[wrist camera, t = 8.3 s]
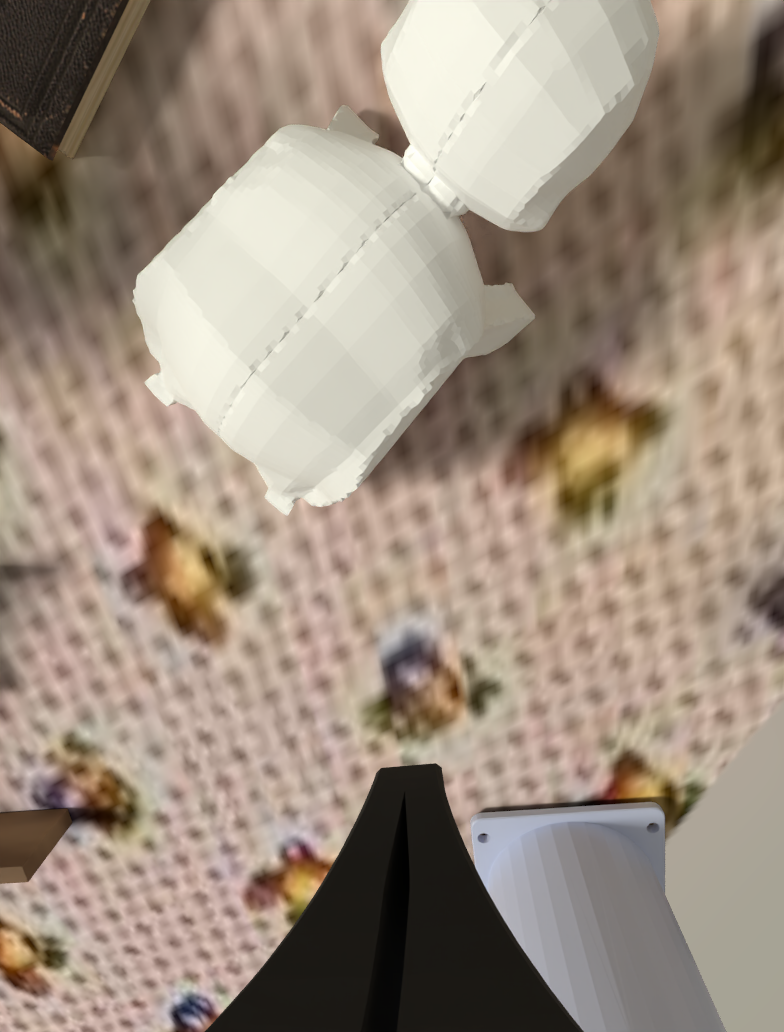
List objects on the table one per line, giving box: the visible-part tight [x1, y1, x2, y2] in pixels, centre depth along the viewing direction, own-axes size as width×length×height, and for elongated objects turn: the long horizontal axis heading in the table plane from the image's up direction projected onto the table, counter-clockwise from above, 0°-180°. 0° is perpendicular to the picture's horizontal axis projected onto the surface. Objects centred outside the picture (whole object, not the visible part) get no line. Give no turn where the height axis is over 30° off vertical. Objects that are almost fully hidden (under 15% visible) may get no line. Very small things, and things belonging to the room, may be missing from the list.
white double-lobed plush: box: [133, 0, 659, 516], centre depth 15 cm, size 9×8×15 cm
